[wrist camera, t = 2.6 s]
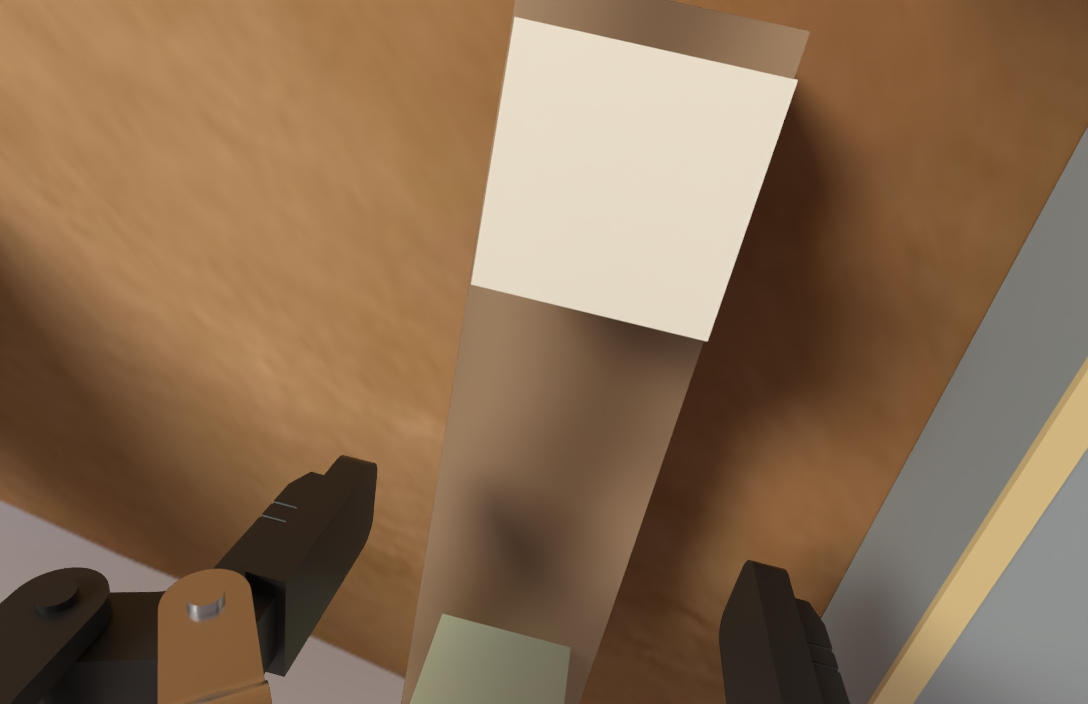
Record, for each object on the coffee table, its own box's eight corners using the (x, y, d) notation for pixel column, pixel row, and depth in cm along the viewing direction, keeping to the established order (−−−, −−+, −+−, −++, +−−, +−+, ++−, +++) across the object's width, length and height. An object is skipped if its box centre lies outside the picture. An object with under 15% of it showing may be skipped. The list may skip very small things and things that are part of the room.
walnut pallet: (438, 610, 25) (399, 713, 21) (550, -5, 16) (520, -33, 12) (573, 646, 25) (561, 757, 21) (765, 43, 16) (810, 31, 12)
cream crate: (514, 230, 14) (470, 284, 10) (550, 34, 12) (514, 16, 9) (689, 272, 14) (707, 341, 10) (750, 79, 12) (798, 80, 9)
